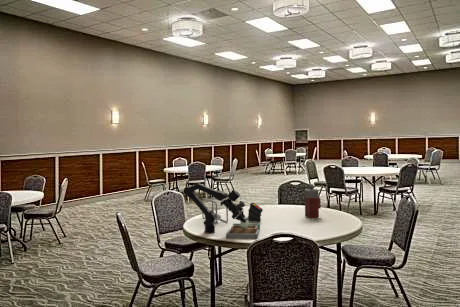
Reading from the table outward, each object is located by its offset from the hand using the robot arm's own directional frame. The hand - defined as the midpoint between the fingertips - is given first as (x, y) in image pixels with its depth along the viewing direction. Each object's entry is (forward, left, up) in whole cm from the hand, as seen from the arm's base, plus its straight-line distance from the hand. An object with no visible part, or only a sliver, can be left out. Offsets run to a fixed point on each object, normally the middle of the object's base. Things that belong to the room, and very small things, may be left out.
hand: (246, 221), depth 284 cm
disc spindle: (-1, +1, -7) cm, 7 cm away
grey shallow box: (-5, -6, -9) cm, 12 cm away
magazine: (+22, +35, -9) cm, 42 cm away
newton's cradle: (-7, +54, -9) cm, 55 cm away
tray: (0, +3, -8) cm, 9 cm away
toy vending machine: (+73, +30, -9) cm, 79 cm away
